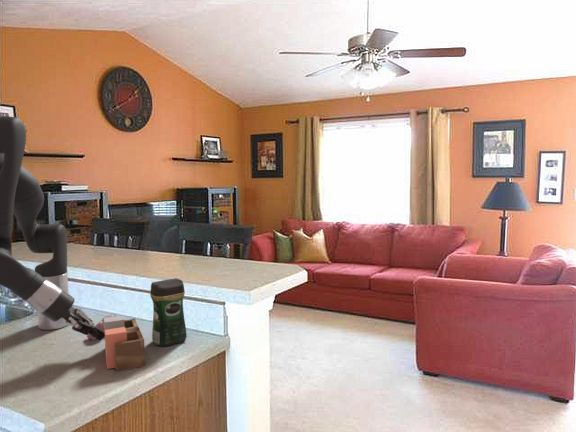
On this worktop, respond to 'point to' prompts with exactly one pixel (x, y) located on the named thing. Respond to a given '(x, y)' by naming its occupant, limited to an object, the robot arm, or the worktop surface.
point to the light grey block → (113, 322)
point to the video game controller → (100, 326)
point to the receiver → (130, 348)
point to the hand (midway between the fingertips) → (102, 337)
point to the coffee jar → (168, 312)
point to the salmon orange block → (113, 344)
